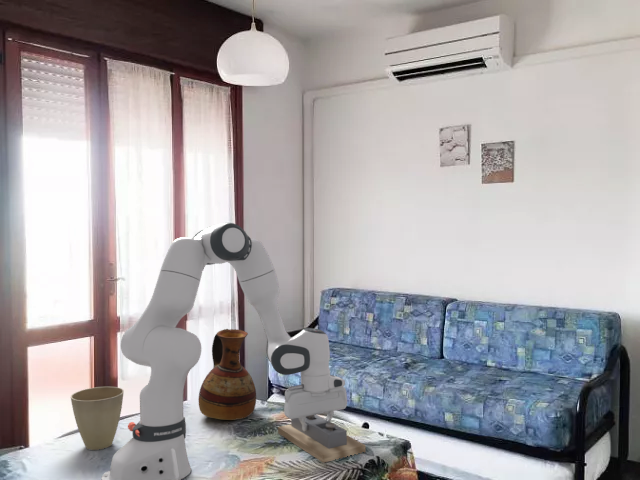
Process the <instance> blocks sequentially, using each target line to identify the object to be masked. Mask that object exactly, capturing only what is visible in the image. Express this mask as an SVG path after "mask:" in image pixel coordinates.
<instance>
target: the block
mask: <svg viewBox="0 0 640 480" xmlns="http://www.w3.org/2000/svg"><path fill="white" fill-rule="evenodd" d="M304 421H305V423H307V424H308V425H309V430H308V431H303V430H302V424H301V422H300V421H299V419H298V418H296V419H290V424H291V426H292V427H294V428H295V429H297V430H299V431H300V432H302V433H304V434H305V435H307V436H309V437H310V438H312V439H314V440H315V441H317V442H319V443H320V444H322V445H323V446H325V447H327V448H328V449H330V448H334V447H338V446H342V445H347V436H348V435H347V430H346V429H344V428H342V426H339V425H337V424H335V427H334V428H333V431H329V430H328V428H326V423H332V422H331V421H330V422H329V421H327V420H326V418H324V417H322V416H320V415H319V414H316V415H315V417H313V420H309V419H308V417H306V420H304Z"/></svg>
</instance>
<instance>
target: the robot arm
mask: <svg viewBox="0 0 640 480" xmlns="http://www.w3.org/2000/svg"><path fill="white" fill-rule="evenodd" d="M225 263H228V264H229V265H231V267H232V268H233V270H234V271H235V273H236V277H237V280H238V283H239V285H240V288H241V290H242V293H243V294H244V296H245V298H246V299H247V300H248V301H247V302H249V304H250V305H251V306H252V307H253V308H254V309H255V311H256V312H257V314H258V317H259V318H260V321H261V325H262V327H263V330H264V334H265V338H266V353H265V354H266V357H267V359H268V361H269V362H270V364H271V366H272V368H273V369H274V371H276V373H277V374H280V375H284V376H288V375H294V374H298V373H300V384H297V385H295V386H294V385H291V386H289V387H288V388H287V389H285V392H284V406H283V407H284V408H283V414H284V416H285V417H286V418H287V419H289V420H291V419H296V418H298V419H299V421H300V422H301V424H302V430H303V431H308V430H309V425H308V424H307V423H305V421H304V420H306V416H311V415H320V414H325V413H326V414H327V415H326V417H325V419H326V420H327V421H329V422H331V421H332V419H333V417H334V415H335V414H334V413H335V412H336V411H340V410H344V409H346V408H347V406H348V396H347V395H348V394H347V389H346V388H345V384H346V380H345V379H343V378H341V377H339V376H336V375H333V374H331V368H330V364H329V363H330V359H331V357H330V356H331V354H330V352H331V351H330V341H329V336H328V334H327V333H326V332H325V331H323V330H321V329H319V328H313V327H306V328H303V329H302V330H301V331H299V332H298V333H297V334H295V335H294V336H291V335H290V334H289V333H288V332H287V330H286V328H285V327H286V326H285V324H284V321H283V318H282V316H281V313H280V310H279V305H278V304H279V303H278V300H279V295H280V285H279V280H278V276H277V272H276V270H275V266H274V264H273V262H272V259H271V257H270V255H269V253H268V251H267V249H266V248H265V246H264V244H263V243H262V242H261V241H260V240H259V239H256V238H251V237H250V236H249V235H248V234H247V233H246V231H245V230H244V229H243V227H241V225H238V224H236V223H233V222H222V223H219V224H213V225H211V226H209V227H206V228H204V229H202V230H199V231H198V232H197V233H196V234H195V235H194V236H193V237H188V236H187V237H185V236H183V237H179V238H176V239H175V240H174V241H172V242H171V245H170V246H169V249H168V250H167V253H166V254H165V257H164V259H163V262H162V264H161V268H160V270H159V274H158V277H157V281H156V283H155V287H154V289H153V293H152V296H151V298H150V301H149V302H148V305H147V306H146V308H145V310H144V311H143V313H142V314H141V316H140V317H139V319H137V321H136V322H135V323H134V324H133V325H132V326H131V327H128V329H126V331H124V333H123V335H122V337H121V339H120V350H121V353H122V355H123V357H125V358H126V359H127V360H128V361H131V362H133V363H135V364H136V365H140V366H144V367H148V368H149V367H150V377H149V381H148V383H147V384H146V385H145V386H144V387H143V388H142V389H141V391H140V392H139V418H140V419H139V420H140V421H138V422H137V423H135V422H133V421H130V422H129V423H128V424H127V429H128V430H129V431H130V432H132V438H130V440H128V441H127V442H126V443H125V444H124V445H123V446H122V447H120V449H118V450H116V452H115V453H114V454H113V455H112V458H111V463H110V470H108V471H105V472H104V473H103V474H102V476H101V478H100V479H101V480H182V479H184V478H185V477H187V476H188V475H190V473H191V472H192V468H191V464H190V461H189V457H188V452H187V448H186V447H187V446H186V437H187V436H186V434H187V423H186V417H185V416H184V391H185V384H186V381H187V377H188V374H189V372H190V371H191V370H192V369H193V368H194V367H195V366H197V364H198V362H199V360H200V358H201V355H202V343H201V340H200V338H199V337H198V336H197V335H196V334H194V333H192V332H191V331H188V330H187V329H184V328H181V327H177V325H178V324H179V322H180V321H181V319H182V318H184V316H186V315H187V314H189V313H190V312H191V311H192V310H193V308H194V305H195V303H196V301H195V300H196V297H197V295H198V290H199V287H200V283H201V278H202V275H203V271H204V269H205V268H206V266H208V265H209V266H212V265H215V264H219V265H220V264H221V265H222V264H225Z"/></svg>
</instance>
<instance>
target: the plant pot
mask: <svg viewBox="0 0 640 480" xmlns="http://www.w3.org/2000/svg"><path fill="white" fill-rule="evenodd" d="M123 399H124V389H123V388H121V387H117V386H96V387H91V388H84V389H81V390H78V391H75V392H74V393H72V394H71V395H70V401H71V406H72V407H71V408H72V411H73V416H74V419H75V423H76V427H77V429H78V432H79V435H80V437H81V440H82V442H83V444H84V446H85V448H86V449H87V450H89V449H90V451H98V450H99V449H100V450H104V448H105V449H107V448H110V447H111V446H112V445H113V443H114V440H115V437H116V433H117V431H118V430H117V429H118V426H119V423H120V417H121V412H122V408H123V402H124V401H123Z"/></svg>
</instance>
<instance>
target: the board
mask: <svg viewBox="0 0 640 480" xmlns="http://www.w3.org/2000/svg"><path fill="white" fill-rule="evenodd" d="M306 417H308V419H309V420H313V417H315V415H311V416H306ZM335 425H336V424H335V423H334V422H331V423H326V428H328V430H329V431H333V428H334V427H335ZM277 434H278V435H280V437H281V436H282V437H283V438H284V439H286V440H287V441H288V442H290V443H292V444H294V445H295V446H297V447H298V448H300V449H301V450H303V451H304V452H306V453H307V454H309V455H311V456H312V457H314V458H315V459H317V460H318V461H320V462H322V464H323V463H327V462H331V461H335V459H336V460H339V458H340V459H344V458H348V457H351V456H350V455H352V456H355V455H354V454H356V455H359V454H358V453H360V454H363V453H362V452H364V453H366V449H367V448H366V444H364V443H362V442H360V441H359V440H357V439H355V438H353V437H351V436H349V435H347V445H342V446H338V447H334V448H330V449H328V448H327V447H325V446H323V445H322V444H320V443H319V442H317V441H315V440H314V439H312V438H310V437H309V436H307V435H305V434H304V433H302V432H300V431H299V430H297V429H295V428H294V427H292V426H291V423H290V424H287V425H286V424H285V425H282V426H277ZM347 456H348V457H347ZM343 457H344V458H343Z"/></svg>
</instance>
